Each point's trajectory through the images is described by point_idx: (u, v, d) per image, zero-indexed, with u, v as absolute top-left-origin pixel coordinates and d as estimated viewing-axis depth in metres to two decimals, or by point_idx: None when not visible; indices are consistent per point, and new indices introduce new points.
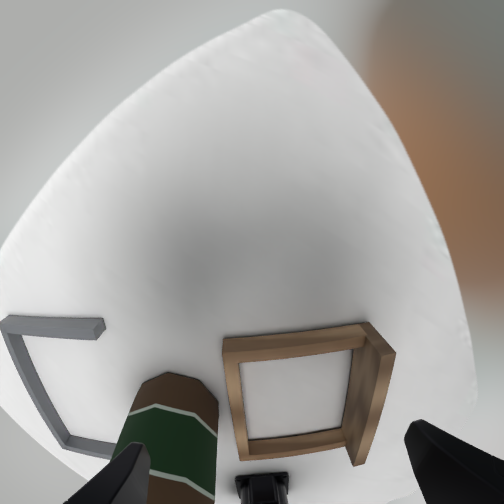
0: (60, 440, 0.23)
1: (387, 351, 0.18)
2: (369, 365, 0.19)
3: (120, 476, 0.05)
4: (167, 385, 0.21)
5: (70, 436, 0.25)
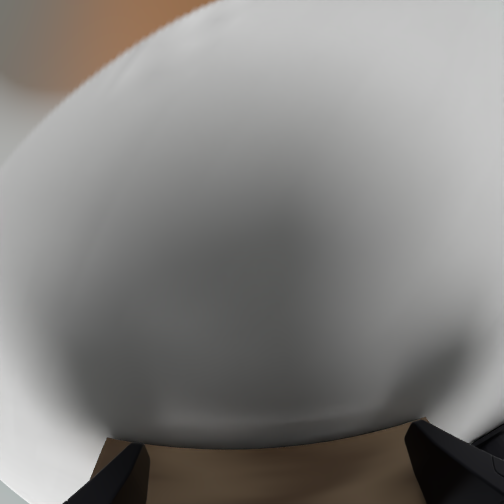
0: None
1: None
2: None
3: (120, 477, 0.05)
4: None
5: None
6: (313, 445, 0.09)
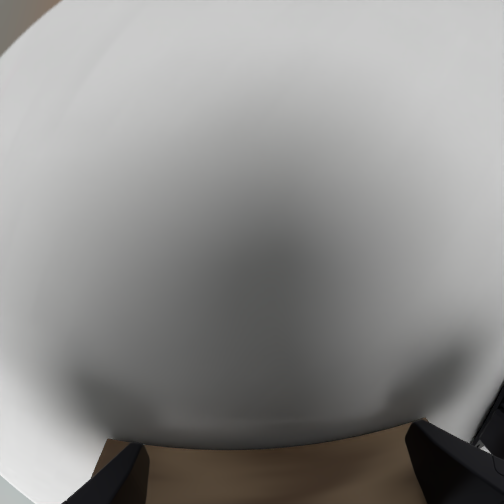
0: None
1: None
2: None
3: (119, 476, 0.05)
4: None
5: None
6: (313, 445, 0.09)
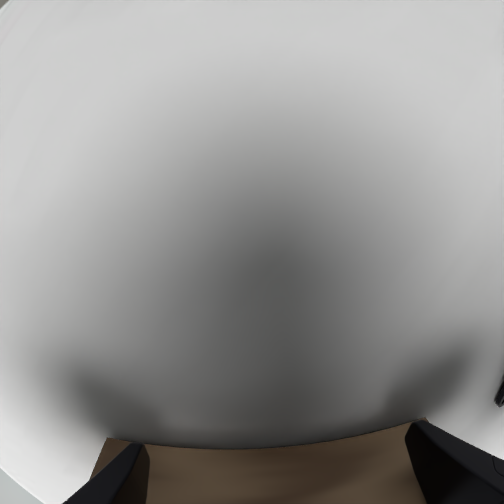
0: None
1: None
2: None
3: (120, 476, 0.05)
4: None
5: None
6: (313, 445, 0.09)
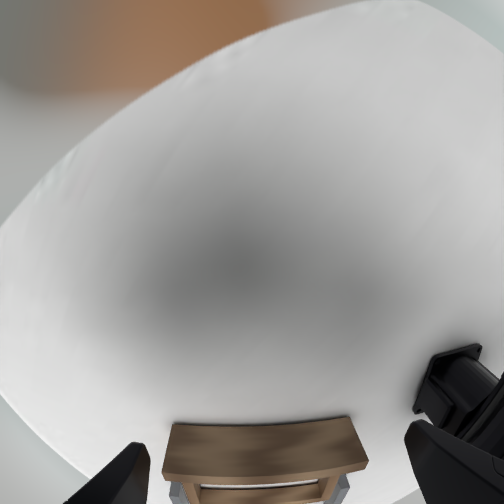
0: None
1: None
2: None
3: (120, 476, 0.05)
4: None
5: None
6: (282, 425, 0.19)
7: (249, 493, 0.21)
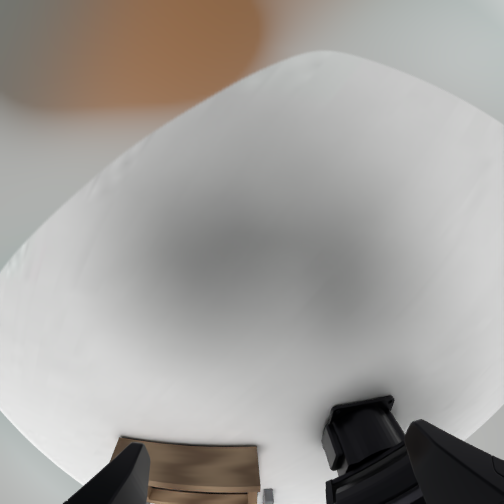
0: None
1: None
2: None
3: (120, 476, 0.05)
4: None
5: None
6: (199, 447, 0.23)
7: (189, 495, 0.25)
